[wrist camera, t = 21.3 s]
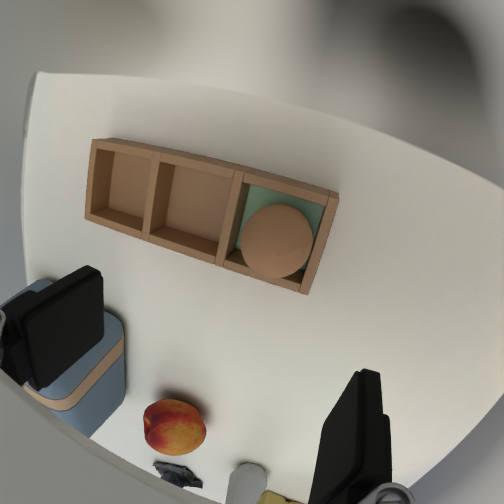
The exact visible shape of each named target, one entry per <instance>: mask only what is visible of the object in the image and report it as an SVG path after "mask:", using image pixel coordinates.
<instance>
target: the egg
mask: <svg viewBox="0 0 504 504" xmlns="http://www.w3.org/2000/svg"><path fill="white" fill-rule="evenodd" d="M312 242H313V236H312V230H311V227H310V224H309V222H308V220H307V219H306V218H305V216H304V215H303V214H302V213H301V212H300V211H299V210H297V209H295V208H294V207H291V206H288V205H284V204H272V205H269V206H266V207H263V208H261V209H260V210H258V211H257V212H255V213H254V214H253V215H252V216H251V217H250V218H249V220H248V221H247V223H246V224H245V226H244V229H243V231H242V234H241V241H240V244H241V251H242V255H243V258H244V260H245V262H246V264H247V265H248V266H249V268H250V269H251V270H252V271H254V272H255V273H256V274H258V275H260V276H262V277H266V278H281V277H286V276H288V275H291V274H293V273H294V272H296V271H297V270H298V269H299V268H301V267H302V266H303V264H304V263H305V262H306V260H307V258H308V256H309V254H310V251H311V248H312Z"/></svg>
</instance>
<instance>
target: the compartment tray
mask: <svg viewBox="0 0 504 504" xmlns="http://www.w3.org/2000/svg"><path fill="white" fill-rule="evenodd" d="M338 203H339V193H336V192H333V191H330V190H326V189H323V188H320V187H317V186H313V185H310V184H307V183H303V182H300V181H297V180H293V179H290V178H286V177H283V176H279V175H275V174H272V173H268V172H265V171H261V170H257V169H253V168H250V167H246V166H242V165H238V164H234V163H230V162H226V161H222V160H218V159H213V158H209V157H205V156H200V155H196V154H192V153H187V152H183V151H178V150H173V149H168V148H164V147H159V146H154V145H148V144H143V143H138V142H133V141H127V140H121V139H116V138H106V139H92V144H91V152H90V160H89V169H88V179H87V190H86V203H85V219H86V220H89V221H92V222H94V223H97V224H100V225H103V226H105V227H108V228H111V229H114V230H116V231H119V232H122V233H125V234H128V235H130V236H133V237H136V238H139V239H142V240H144V241H147V242H150V243H153V244H156V245H159V246H162V247H165V248H167V249H170V250H173V251H176V252H179V253H182V254H185V255H188V256H191V257H193V258H196V259H199V260H202V261H205V262H208V263H211V264H215V265H217V266H220V267H224V268H226V269H229V270H232V271H235V272H238V273H241V274H244V275H247V276H250V277H253V278H256V279H259V280H262V281H265V282H268V283H271V284H274V285H277V286H280V287H283V288H286V289H289V290H292V291H295V292H299V293H301V294H304V295H308V293H309V290H310V288H311V285H312V282H313V279H314V276H315V273H316V271H317V268H318V265H319V262H320V259H321V256H322V253H323V250H324V247H325V244H326V241H327V238H328V235H329V232H330V228H331V225H332V222H333V219H334V216H335V213H336V209H337V206H338ZM272 204H284V205H288V206H291V207H294V208H295V209H297V210H299V211H300V212H301V213H302V214H303V215H304V216H305V218H306V219H307V220H308V222H309V224H310V227H311V230H312V236H313V242H312V248H311V251H310V254H309V256H308V258H307V260H306V262H305V263H304V264H303V266H302V267H301V268H299V269H298V270H297V271H296V272H294V273H293V274H291V275H288V276H286V277H281V278H266V277H262V276H260V275H258V274H256V273H255V272H254V271H252V270H251V269H250V268H249V266H248V265H247V264H246V262H245V260H244V258H243V255H242V251H241V244H240V241H241V234H242V231H243V229H244V226H245V224H246V223H247V221H248V220H249V218H250V217H251V216H252V215H253V214H254V213H255V212H257V211H258V210H260V209H261V208H263V207H266V206H269V205H272Z"/></svg>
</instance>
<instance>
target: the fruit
mask: <svg viewBox="0 0 504 504" xmlns="http://www.w3.org/2000/svg"><path fill="white" fill-rule="evenodd" d="M143 421H144V433H145V440H146V442H147V443H148V444H149V445H150V446H151V447H152V448H153V449H154V450H156V451H158V452H160V453H163V454H166V455H172V456H177V455H183V454H187V453H190V452H192V451H193V450H195V449H196V448H198V447H199V446H200V445H201V444H202V443H203V441H204V439H205V436H206V427H205V425H204V422H203V420H202V418H201V416H200V413H199V412H198V410H197V409H196V408H195V407H193V406H191V405H190V404H188V403H185V402H182V401H179V400H175V399H163V400H160V401H157V402H155V403H153V404H151V405H150V406H148V407H147V408H146V410H145V412H144V416H143Z"/></svg>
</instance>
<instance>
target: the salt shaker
mask: <svg viewBox="0 0 504 504" xmlns="http://www.w3.org/2000/svg"><path fill="white" fill-rule="evenodd" d="M266 486H267V477H266V472H265V470H264V469H263V468H261V467H260V466H259V465H256V464H251V463H245V464H242V465H240V466H239V467H238V468H236V469H235V470H234V471H233V472H232V473H231V475H230V478H229V485H228V491H227V497H226V503H225V504H257V502H258V500H259V499H260V497H261V495H262V494H263V492H264V490H265V488H266Z"/></svg>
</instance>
